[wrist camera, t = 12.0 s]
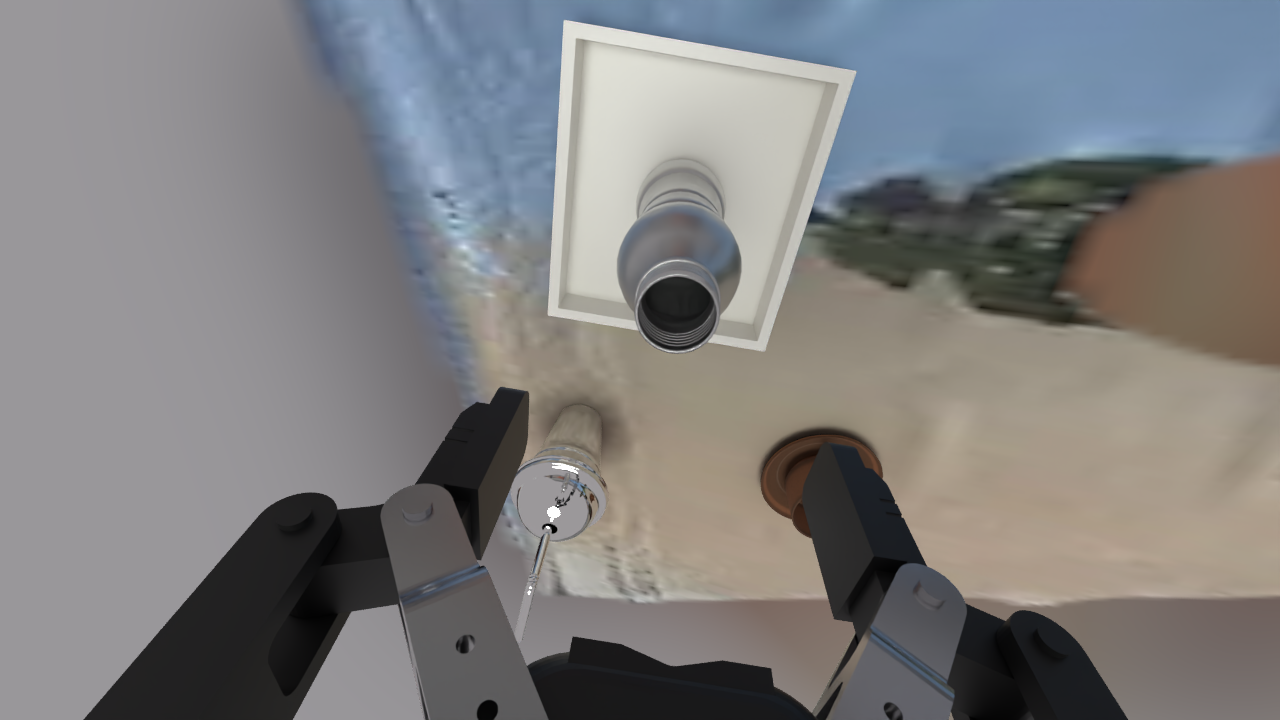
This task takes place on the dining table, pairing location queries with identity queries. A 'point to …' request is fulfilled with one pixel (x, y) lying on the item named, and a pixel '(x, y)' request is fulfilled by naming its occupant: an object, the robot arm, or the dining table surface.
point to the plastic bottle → (679, 257)
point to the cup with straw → (560, 489)
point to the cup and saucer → (802, 474)
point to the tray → (693, 130)
